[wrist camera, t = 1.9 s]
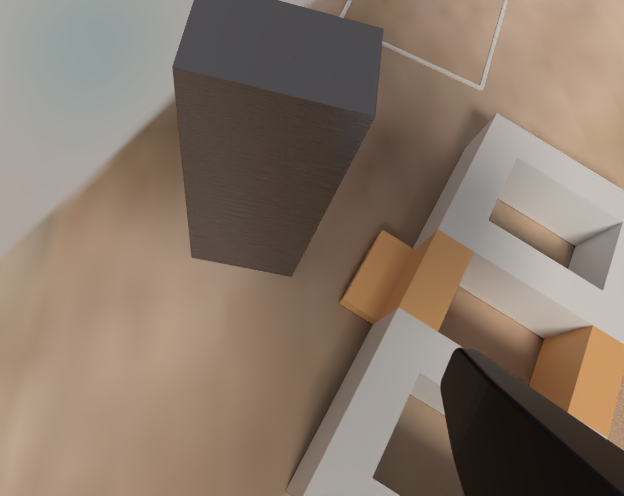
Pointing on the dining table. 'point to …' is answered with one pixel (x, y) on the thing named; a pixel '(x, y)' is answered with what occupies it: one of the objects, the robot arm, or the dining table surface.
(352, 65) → the graphite panel
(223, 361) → the dining table surface
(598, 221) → the frame
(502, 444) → the robot arm
